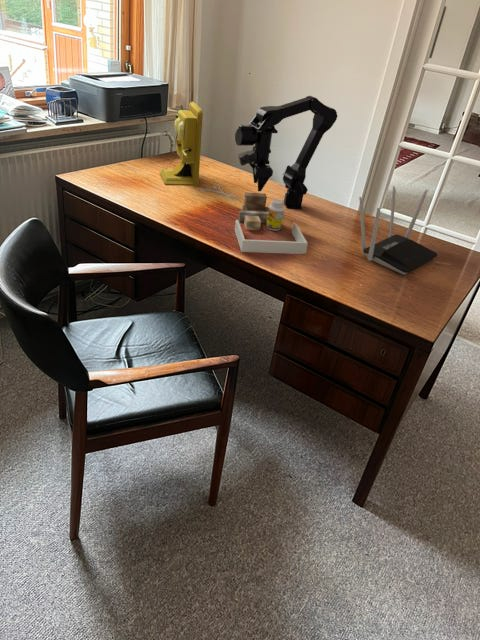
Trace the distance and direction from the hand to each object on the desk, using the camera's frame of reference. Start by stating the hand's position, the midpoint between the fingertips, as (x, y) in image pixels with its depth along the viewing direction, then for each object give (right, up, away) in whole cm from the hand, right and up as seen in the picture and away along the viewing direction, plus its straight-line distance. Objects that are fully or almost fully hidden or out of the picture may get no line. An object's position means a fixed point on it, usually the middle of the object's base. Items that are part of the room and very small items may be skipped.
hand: (257, 186), depth 183 cm
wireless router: (+46, -29, -18) cm, 57 cm away
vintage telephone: (-34, +11, +25) cm, 43 cm away
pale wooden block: (-2, -18, -11) cm, 21 cm away
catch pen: (+3, -24, -20) cm, 31 cm away
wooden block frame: (0, -11, 0) cm, 11 cm away
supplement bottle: (+6, -18, -9) cm, 21 cm away
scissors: (-14, +1, +15) cm, 21 cm away
